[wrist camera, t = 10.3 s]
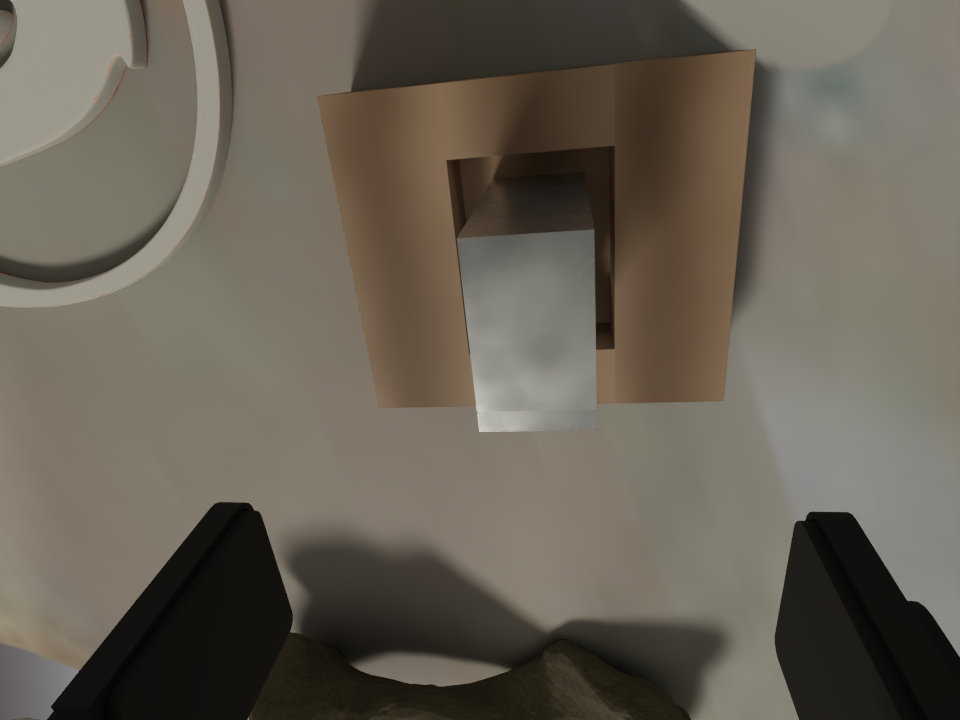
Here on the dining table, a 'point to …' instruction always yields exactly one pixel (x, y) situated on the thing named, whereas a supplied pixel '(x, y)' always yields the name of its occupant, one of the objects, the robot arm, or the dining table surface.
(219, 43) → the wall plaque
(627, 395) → the well block
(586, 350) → the grey rectangular prism
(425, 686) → the bone
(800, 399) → the dining table surface
